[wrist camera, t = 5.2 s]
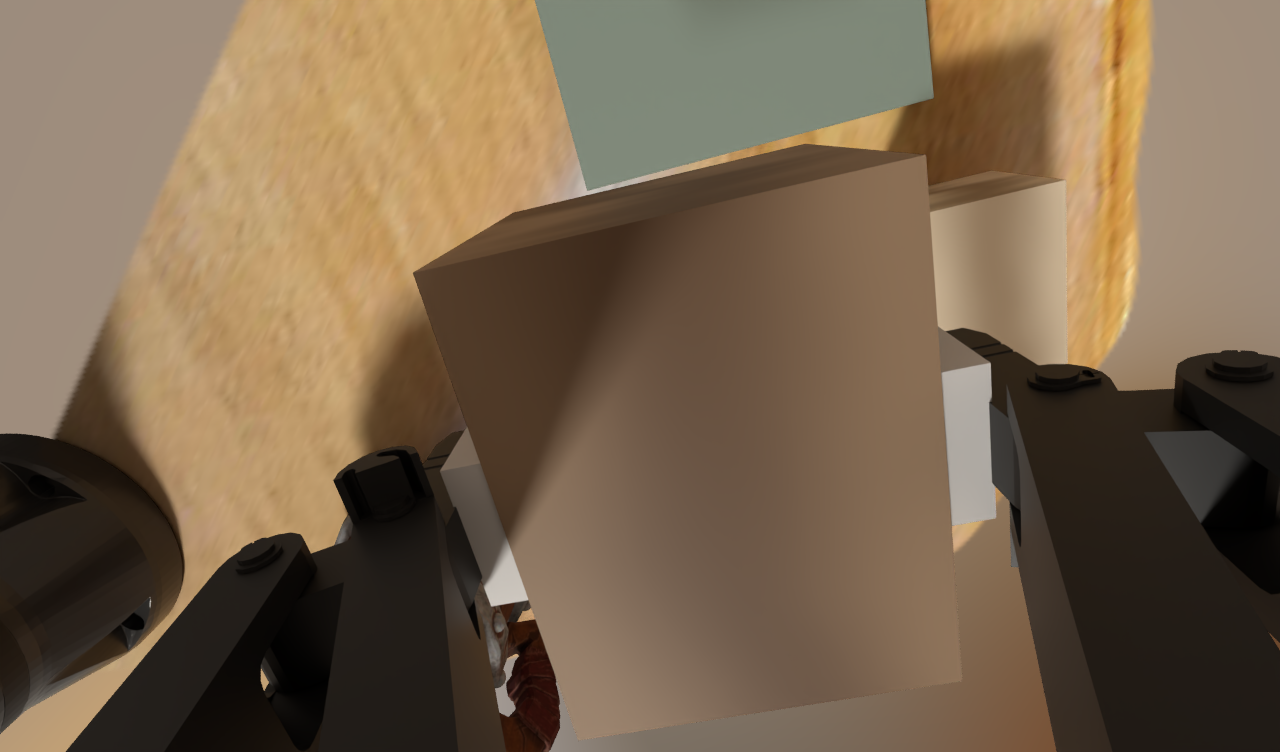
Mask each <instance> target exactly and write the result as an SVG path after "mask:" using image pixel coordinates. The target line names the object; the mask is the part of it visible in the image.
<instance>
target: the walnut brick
mask: <svg viewBox="0 0 1280 752" xmlns="http://www.w3.org/2000/svg"><path fill="white" fill-rule="evenodd" d="M413 275H414V277H415V280H416V283H417V286H418V289H419V292H420V294H421V297H422V300H423V303H424V306H425V309H426V311H427V314H428V317H429V320H430V323H431V326H432V328H433V331H434V334H435V337H436V340H437V343H438V345H439V348H440V351H441V354H442V357H443V359H444V362H445V365H446V368H447V371H448V374H449V376H450V379H451V382H452V385H453V388H454V391H455V393H456V396H457V399H458V402H459V405H460V408H461V410H462V413H463V416H464V419H465V422H466V424H467V427H468V430H469V433H470V436H471V439H472V441H473V444H474V447H475V450H476V453H477V456H478V458H479V461H480V464H481V467H482V470H483V473H484V475H485V478H486V481H487V484H488V487H489V489H490V492H491V495H492V498H493V501H494V504H495V506H496V509H497V512H498V515H499V518H500V521H501V523H502V526H503V529H504V532H505V535H506V538H507V540H508V543H509V546H510V549H511V552H512V555H513V557H514V560H515V563H516V566H517V569H518V571H519V574H520V577H521V580H522V583H523V586H524V588H525V591H526V594H527V597H528V600H529V603H530V605H531V608H532V611H533V614H534V617H535V620H536V622H537V625H538V628H539V631H540V634H541V636H542V639H543V642H544V645H545V648H546V651H547V653H548V656H549V659H550V662H551V665H552V668H553V670H554V673H555V676H556V679H557V682H558V685H559V687H560V690H561V693H562V696H563V699H564V701H565V704H566V707H567V710H568V713H569V716H570V718H571V721H572V724H573V727H574V730H575V733H576V735H577V738H578V740H585V739H592V738H598V737H604V736H611V735H617V734H623V733H630V732H637V731H643V730H649V729H656V728H662V727H669V726H675V725H681V724H688V723H694V722H701V721H708V720H714V719H720V718H727V717H733V716H740V715H747V714H753V713H760V712H766V711H772V710H779V709H785V708H792V707H798V706H804V705H811V704H817V703H824V702H831V701H837V700H843V699H850V698H856V697H862V696H869V695H876V694H882V693H888V692H895V691H901V690H907V689H915V688H921V687H927V686H933V685H940V684H947V683H953V682H960V681H962V669H961V655H960V640H959V625H958V611H957V597H956V583H955V567H954V553H953V538H952V524H951V509H950V495H949V480H948V466H947V451H946V437H945V422H944V408H943V393H942V379H941V364H940V350H939V335H938V321H937V306H936V292H935V277H934V263H933V248H932V234H931V219H930V205H929V190H928V176H927V161H926V155H924V154H912V153H901V152H890V151H879V150H868V149H857V148H845V147H834V146H823V145H812V144H803V145H798V146H794V147H790V148H786V149H781V150H777V151H773V152H769V153H764V154H760V155H756V156H752V157H747V158H743V159H739V160H735V161H731V162H726V163H722V164H718V165H714V166H709V167H705V168H701V169H697V170H692V171H688V172H684V173H680V174H675V175H671V176H667V177H663V178H658V179H654V180H650V181H646V182H642V183H637V184H633V185H629V186H625V187H620V188H616V189H612V190H608V191H603V192H599V193H595V194H591V195H586V196H582V197H578V198H574V199H569V200H565V201H561V202H557V203H553V204H548V205H544V206H540V207H536V208H531V209H527V210H523V211H519V212H514V213H512V214H510V215H509V216H507V217H505V218H504V219H502V220H500V221H499V222H497V223H495V224H494V225H492V226H490V227H489V228H487V229H485V230H484V231H482V232H480V233H479V234H477V235H475V236H474V237H472V238H470V239H469V240H467V241H465V242H464V243H462V244H460V245H459V246H457V247H455V248H454V249H452V250H450V251H449V252H447V253H445V254H444V255H442V256H440V257H439V258H437V259H435V260H434V261H432V262H430V263H429V264H427V265H425V266H424V267H422V268H420V269H419V270H417V271H415V272H414V273H413Z"/></svg>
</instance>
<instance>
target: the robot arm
mask: <svg viewBox="0 0 1280 752" xmlns="http://www.w3.org/2000/svg"><path fill="white" fill-rule="evenodd" d="M938 335H939V350H940V364H941V379H942V393H943V408H944V422H945V437H946V451H947V466H948V480H949V495H950V509H951V524H952V526H954V525H960V524H965V523H971V522H977V521H983V520H988V519H994V518H996V502H995V486H996V488H997V489H998V490H999V491H1000V492H1001V493H1002V494H1003V495H1004V496H1005V497H1006V498H1007V499H1008V500H1009V501H1010V538H1011V567H1019V572H1020V577H1021V582H1022V586H1023V591H1024V596H1025V600H1026V605H1027V610H1028V615H1029V620H1030V625H1031V630H1032V634H1033V639H1034V644H1035V649H1036V654H1037V659H1038V664H1039V668H1040V673H1041V677H1042V683H1043V688H1044V693H1045V697H1046V702H1047V707H1048V712H1049V716H1050V721H1051V726H1052V731H1053V736H1054V741H1055V746H1056V751H1057V752H1280V650H1279V648H1278V647H1277V645H1276V644H1275V642H1274V640H1273V639H1272V637H1271V636H1270V634H1271V635H1272V636H1273V637H1274V638H1275V639H1277V641H1278V642H1280V358H1278V357H1274V356H1268V355H1262V354H1258V353H1257V352H1254V351H1241V352H1238V351H1237V350H1232V351H1231V350H1226V351H1222V352H1221V353H1209V354H1203V355H1198V356H1194V357H1190V358H1187V359H1185V360H1184V361H1182V362H1180V363H1178V365H1177V369H1176V377H1175V389H1159V390H1138V391H1118V390H1117V388H1116V387H1115V385H1114V383H1113V382H1112V380H1111V379H1110V378H1109V377H1108V376H1107V375H1105V374H1104V373H1103V372H1101V371H1098V370H1095V369H1092V368H1089V367H1085V366H1078V365H1071V364H1046V365H1037V364H1036V363H1034V362H1032V361H1031V360H1029V359H1028V358H1026V357H1024V356H1023V355H1021V354H1019V353H1018V352H1016V351H1015V352H1013V349H1011V348H1010V347H1008V346H1006V345H1005V344H1001V342H1000V341H998V340H997V339H995V338H993V337H992V336H990V335H989V334H987V333H983V332H979V331H975V330H971V329H967V328H959V329H954V330H949V331H944V330H943V329H941V328H940V327H938ZM427 459H428V461H425V463H424V464H423V465H422V462H421V460H420V457H419V455H418V452H417V451H416V449H415V448H414V447H410V446H396V447H390V448H386V449H383V450H379V451H376V452H373V453H371V454H369V455H366V456H364V457H361V458H360V459H358V460H356V461H354V462H353V463H351V464H349V465H348V466H346V467H345V468H344V469H343V470H341V471H340V472H339V473H338V474H337V476H336V477H335V479H334V483H335V485H336V488H337V490H338V492H339V494H340V496H341V499H342V501H343V503H344V505H345V508H346V510H347V512H348V514H349V517H350V519H351V521H352V523H353V528H352V534H351V539H350V540H347V541H345V542H342V543H340V544H337V545H334V546H331V547H329V548H326V549H323V550H320V551H317V552H315V553H312V554H311V553H310V551H309V549H308V547H307V545H306V543H305V541H304V539H303V537H302V536H301V534H296V533H285V534H279V535H275V536H272V537H269V538H261V539H259V540H257V541H254V543H253V544H252V543H250V544H248V545H246V546H245V547H243V548H242V549H241V551H240V552H238V553H237V554H235V555H234V556H232V557H231V558H229V559H228V560H227V561H226V562H225V563H224V564H223V565H222V566H221V567H219V568H218V570H217V571H216V572H215V573H214V574H213V576H212V577H211V578H210V579H209V580H208V582H207V583H206V584H205V585H204V586H203V588H202V589H201V590H200V591H199V592H198V594H197V595H196V596H195V597H194V598H193V600H192V601H191V602H190V603H189V604H188V606H187V607H186V608H185V609H184V610H183V612H182V613H181V614H180V615H179V616H178V618H177V619H176V620H175V621H174V622H173V624H172V625H171V626H170V627H169V628H168V629H167V631H166V632H165V633H164V634H163V635H162V637H161V638H160V639H159V640H158V641H157V643H156V644H155V645H154V646H153V647H152V649H151V650H150V651H149V652H148V653H147V655H146V656H145V657H144V658H143V659H142V661H141V662H140V663H139V664H138V665H137V667H136V668H135V669H134V670H133V672H132V673H131V674H130V675H129V676H128V677H127V679H126V680H125V681H124V682H123V684H122V685H121V686H120V687H119V688H118V689H117V691H116V692H115V693H114V694H113V695H112V697H111V698H110V699H109V700H108V701H107V703H106V704H105V705H104V706H103V707H102V709H101V710H100V711H99V712H98V713H97V715H96V716H95V717H94V718H93V719H92V721H91V722H90V723H89V724H88V726H87V727H86V728H85V729H84V730H83V731H82V733H81V734H80V735H79V736H78V738H77V739H76V740H75V741H74V743H72V745H71V746H70V747H69V748H68V749H67V751H66V752H506V748H505V743H504V737H503V732H502V726H501V720H500V715H499V709H498V704H497V698H496V692H495V687H494V681H493V675H492V670H491V664H490V659H489V653H488V647H487V642H486V636H485V631H484V625H483V619H482V617H481V614H480V611H479V609H478V606H477V604H476V601H475V599H474V598H475V595H476V593H477V590H478V587H479V585H480V582H481V581H482V583H483V586H484V589H485V591H486V594H487V597H488V599H489V602H490V605H491V606H497V605H503V604H509V603H514V602H520V601H526V600H528V597H527V594H526V591H525V588H524V586H523V583H522V580H521V577H520V574H519V571H518V569H517V566H516V563H515V560H514V557H513V555H512V552H511V549H510V546H509V543H508V540H507V538H506V535H505V532H504V529H503V526H502V523H501V521H500V518H499V515H498V512H497V509H496V506H495V504H494V501H493V498H492V495H491V492H490V489H489V487H488V484H487V481H486V478H485V475H484V473H483V470H482V467H481V464H480V461H479V458H478V456H477V453H476V450H475V447H474V444H473V441H472V439H471V436H470V433H469V430H468V427H467V428H466V429H465V430H464V431H459V432H454V433H452V434H450V435H449V436H448V437H446V438H445V439H444V440H443V441H441V442H440V443H439V444H437V445H436V446H435V448H434V449H433V451H432V452H431V454H430V455H429V457H428V458H427ZM181 584H182V560H181V555H180V551H179V547H178V544H177V541H176V539H175V536H174V534H173V532H172V530H171V528H170V526H169V524H168V522H167V520H166V519H165V517H164V516H163V514H162V513H161V511H160V510H159V509H158V507H157V506H156V505H155V504H154V502H153V501H152V500H151V499H150V498H149V497H148V496H147V494H146V493H145V492H144V491H143V490H142V489H141V488H140V487H138V486H137V485H136V484H135V483H134V482H133V481H132V480H131V479H129V478H128V477H127V476H126V475H124V474H123V473H122V472H120V471H119V470H118V469H116V468H114V467H113V466H111V465H110V464H108V463H107V462H105V461H103V460H102V459H100V458H98V457H96V456H94V455H92V454H90V453H88V452H86V451H84V450H82V449H79V448H77V447H74V446H72V445H69V444H66V443H63V442H60V441H57V440H53V439H49V438H44V437H40V436H33V435H26V434H0V734H1V733H2V732H3V731H4V730H5V729H6V728H7V727H8V726H9V725H10V724H11V723H13V721H14V720H16V719H17V718H18V717H19V716H20V715H21V714H22V713H23V712H24V711H26V710H27V709H29V708H31V707H32V706H34V705H36V704H38V703H40V702H41V701H43V700H45V699H47V698H49V697H50V696H52V695H54V694H56V693H57V692H59V691H61V690H63V689H65V688H67V687H68V686H70V685H72V684H74V683H75V682H77V681H79V680H81V679H83V678H85V677H86V676H88V675H90V674H92V673H94V672H95V671H97V670H99V669H101V668H103V667H104V666H106V665H108V664H110V663H112V662H113V661H115V660H117V659H119V658H121V657H122V656H124V655H125V654H127V653H128V652H130V651H131V650H132V649H134V648H135V647H136V646H137V645H139V644H140V643H141V642H142V641H143V640H144V639H145V638H146V637H147V636H148V635H149V634H150V633H151V632H152V631H153V630H154V629H155V628H156V627H157V626H158V625H159V624H160V623H161V622H162V621H163V620H164V619H165V617H166V616H167V615H168V614H169V613H170V611H171V610H172V608H173V607H174V605H175V603H176V601H177V598H178V596H179V593H180V589H181ZM1269 633H1270V634H1269ZM261 669H262V670H263V672H264V674H265V676H266V678H267V679H268V681H269V684H268V685H267V687H266V689H265V691H264V690H263V687H262V684H261Z"/></svg>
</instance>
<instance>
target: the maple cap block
mask: <svg viewBox="0 0 1280 752" xmlns="http://www.w3.org/2000/svg"><path fill="white" fill-rule="evenodd" d="M928 190H929V205H930V219H931V234H932V248H933V263H934V277H935V292H936V306H937V321H938V327H940V328H941V329H943V330H944V331H949V330H954V329H959V328H967V329H971V330H975V331H979V332H983V333H987V334H989V335H990V336H992V337H993V338H995V339H997V340H998V341H1000V342H1001V344H1005V345H1006V346H1008V347H1010V348H1011V349H1013V352H1015V351H1016V352H1018V353H1019V354H1021V355H1023V356H1024V357H1026V358H1028V359H1029V360H1031V361H1032V362H1034V363H1036V364H1037V365H1046V364H1066V363H1067V233H1066V180H1064V179H1056V178H1048V177H1040V176H1032V175H1024V174H1016V173H1008V172H1000V171H988V172H984V173H979V174H975V175H971V176H967V177H963V178H959V179H955V180H951V181H946V182H942V183H938V184H934V185H930V186H928Z"/></svg>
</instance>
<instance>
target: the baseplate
mask: <svg viewBox="0 0 1280 752" xmlns="http://www.w3.org/2000/svg"><path fill="white" fill-rule="evenodd" d="M535 2H536V6H537V10H538V13H539V17H540V21H541V24H542V28H543V31H544V35H545V39H546V42H547V46H548V50H549V53H550V57H551V61H552V64H553V68H554V71H555V75H556V79H557V82H558V86H559V90H560V93H561V97H562V100H563V104H564V108H565V111H566V115H567V119H568V122H569V126H570V130H571V133H572V137H573V140H574V144H575V148H576V151H577V155H578V159H579V162H580V166H581V170H582V173H583V177H584V180H585V184H586V188H587V191H588V190H592V189H596V188H600V187H603V186H607V185H611V184H615V183H618V182H622V181H626V180H630V179H633V178H637V177H641V176H645V175H648V174H652V173H656V172H660V171H663V170H667V169H671V168H675V167H678V166H682V165H686V164H689V163H693V162H697V161H701V160H704V159H708V158H712V157H716V156H719V155H723V154H727V153H731V152H734V151H738V150H742V149H746V148H749V147H753V146H757V145H761V144H764V143H768V142H772V141H776V140H779V139H783V138H787V137H791V136H794V135H798V134H802V133H805V132H809V131H813V130H817V129H820V128H824V127H828V126H832V125H835V124H839V123H843V122H847V121H850V120H854V119H858V118H862V117H865V116H869V115H873V114H877V113H880V112H884V111H888V110H892V109H895V108H899V107H903V106H907V105H910V104H914V103H918V102H921V101H925V100H929V99H933V98H934V95H933V83H932V72H931V60H930V49H929V37H928V26H927V14H926V3H925V0H535Z"/></svg>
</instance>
